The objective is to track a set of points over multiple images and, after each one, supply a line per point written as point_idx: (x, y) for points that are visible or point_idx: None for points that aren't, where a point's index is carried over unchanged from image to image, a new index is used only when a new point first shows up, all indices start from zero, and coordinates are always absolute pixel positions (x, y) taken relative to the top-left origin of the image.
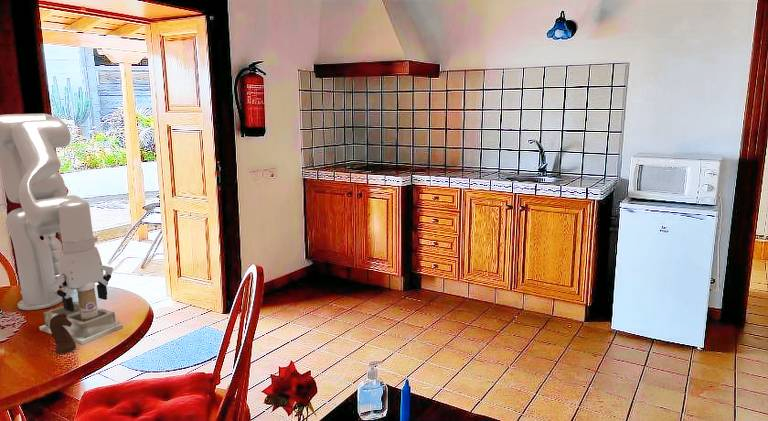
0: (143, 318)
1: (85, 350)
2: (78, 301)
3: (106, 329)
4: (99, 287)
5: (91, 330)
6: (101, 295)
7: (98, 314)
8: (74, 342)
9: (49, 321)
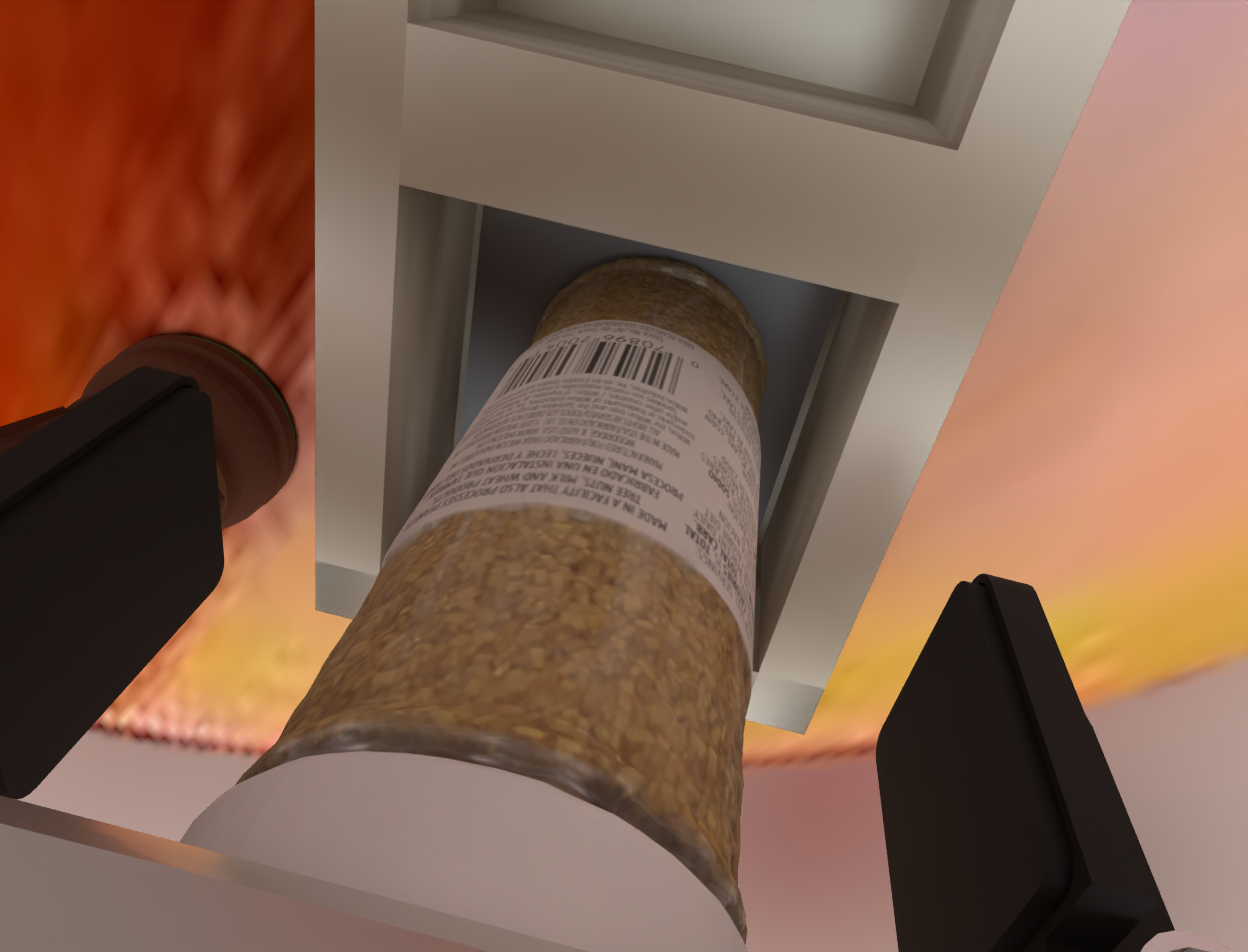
0: (1151, 670)
1: (297, 599)
2: (383, 563)
3: None
4: (979, 911)
5: None
6: (924, 737)
7: (836, 416)
8: (244, 515)
9: None
